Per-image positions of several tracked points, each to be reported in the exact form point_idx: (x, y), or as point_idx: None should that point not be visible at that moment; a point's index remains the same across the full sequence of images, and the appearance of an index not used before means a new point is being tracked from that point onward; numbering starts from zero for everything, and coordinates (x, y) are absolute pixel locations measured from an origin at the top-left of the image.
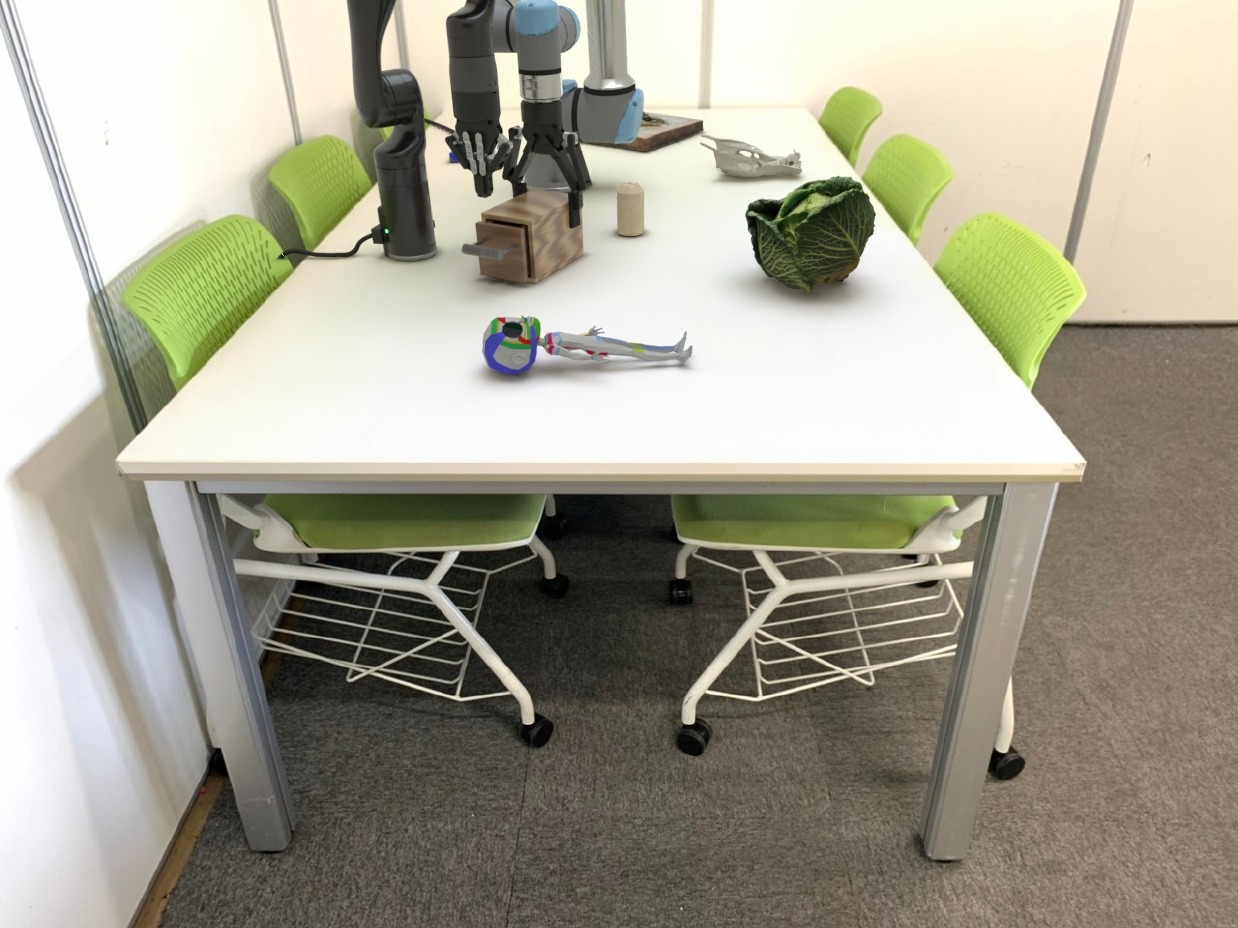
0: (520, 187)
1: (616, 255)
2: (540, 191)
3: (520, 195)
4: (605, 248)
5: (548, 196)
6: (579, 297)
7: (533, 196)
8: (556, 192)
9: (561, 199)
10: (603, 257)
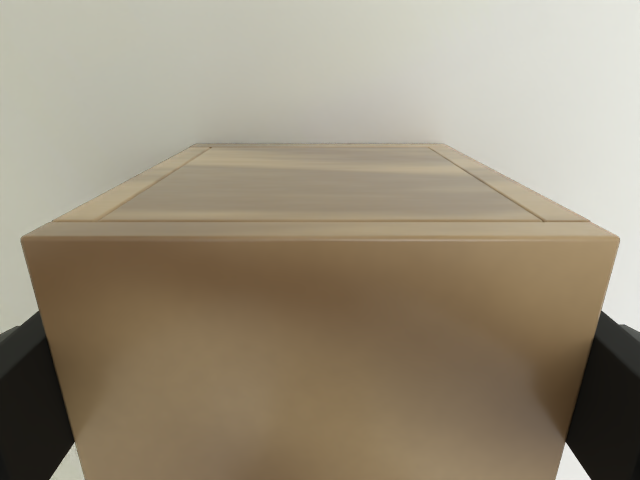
0: (27, 472)
1: (592, 79)
2: (157, 290)
3: (92, 450)
4: (508, 5)
5: (327, 386)
6: (582, 472)
7: (208, 433)
8: (325, 253)
9: (481, 411)
10: (541, 131)
